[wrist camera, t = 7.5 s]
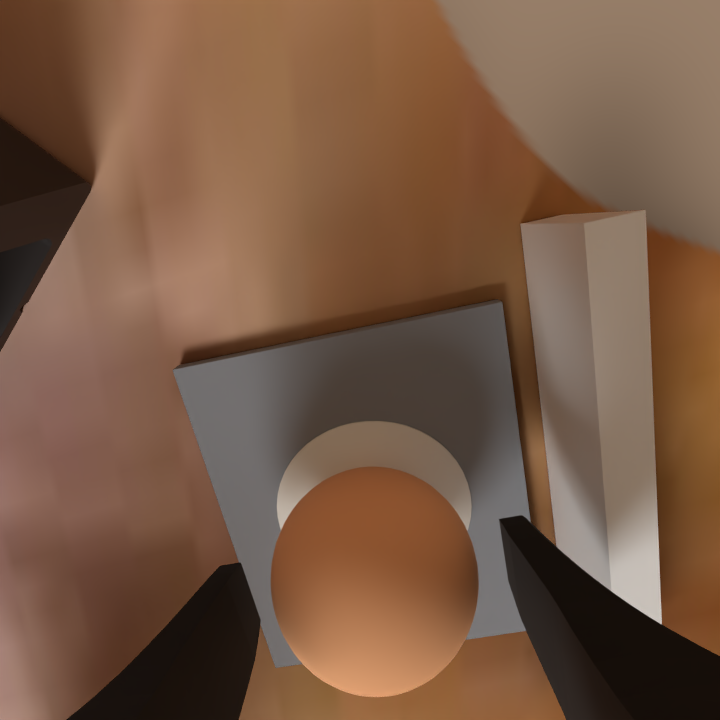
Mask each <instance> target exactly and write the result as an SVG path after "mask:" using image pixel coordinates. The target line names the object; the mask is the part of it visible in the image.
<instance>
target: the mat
mask: <svg viewBox="0 0 720 720" xmlns="http://www.w3.org/2000/svg"><path fill="white" fill-rule="evenodd" d="M173 372H174V375H175V378H176V381H177V384H178V387H179V390H180V393H181V396H182V399H183V401H184V404H185V407H186V410H187V413H188V416H189V419H190V422H191V425H192V427H193V430H194V433H195V436H196V439H197V442H198V445H199V448H200V451H201V453H202V456H203V459H204V462H205V465H206V468H207V471H208V474H209V477H210V479H211V482H212V485H213V488H214V491H215V494H216V497H217V500H218V503H219V506H220V508H221V511H222V514H223V517H224V520H225V523H226V526H227V529H228V532H229V534H230V537H231V540H232V543H233V546H234V549H235V552H236V555H237V558H238V560H239V563H240V562H241V564H242V567H243V570H244V573H245V576H246V579H247V582H248V584H249V587H250V590H251V593H252V596H253V599H254V602H255V605H256V608H257V611H258V613H259V616H260V619H261V622H260V624H261V627H262V630H263V633H264V636H265V639H266V641H267V644H268V647H269V650H270V653H271V656H272V659H273V662H274V665H275V667H276V668H278V667H285V666H292V665H298V664H302V662H301V661H300V660H299V659H298V658H297V657H296V655H295V654H294V653H293V651H292V650H291V648H290V646H289V645H288V643H287V641H286V640H285V638H284V636H283V634H282V632H281V629H280V627H279V624H278V621H277V618H276V615H275V611H274V607H273V602H272V595H271V564H272V559H273V554H274V550H275V545H276V542H277V539H278V537H279V534H280V532H281V529H282V527H283V525H284V523H285V521H286V519H287V518H288V516H289V514H290V513H291V511H292V510H293V508H294V507H295V506H296V505H297V503H298V502H299V501H300V500H301V499H302V498H303V497H304V496H305V495H306V494H307V493H308V492H309V491H310V490H311V489H313V488H314V487H315V486H316V485H318V484H319V483H321V482H322V481H324V480H326V479H327V478H329V477H331V476H333V475H336V474H338V473H341V472H344V471H346V470H350V469H354V468H360V467H386V468H392V469H396V470H400V471H403V472H406V473H409V474H411V475H413V476H415V477H417V478H419V479H421V480H423V481H425V482H426V483H428V484H429V485H431V486H432V487H433V488H435V489H436V490H437V491H438V492H439V493H440V494H441V495H442V496H443V497H444V498H446V499H447V501H448V502H449V503H450V504H451V505H452V507H453V508H454V509H455V511H456V512H457V513H458V515H459V517H460V518H461V520H462V521H463V523H464V525H465V527H466V529H467V532H468V534H469V536H470V539H471V541H472V544H473V547H474V551H475V555H476V560H477V565H478V577H479V590H478V600H477V607H476V611H475V616H474V619H473V622H472V625H471V628H470V630H469V633H468V635H467V637H466V639H465V640H467V639H474V638H480V637H487V636H494V635H501V634H507V633H514V632H521V631H526V629H525V627H524V625H523V622H522V620H521V617H520V615H519V612H518V609H517V606H516V603H515V600H514V597H513V594H512V591H511V588H510V585H509V582H508V576H507V569H506V563H505V556H504V549H503V543H502V536H501V529H500V523H499V519H502V518H508V517H513V516H519V515H523V516H524V517H525V518H527V519H528V520H529V521H530V513H529V505H528V498H527V490H526V482H525V474H524V467H523V459H522V451H521V443H520V435H519V428H518V420H517V412H516V404H515V397H514V389H513V381H512V373H511V366H510V358H509V350H508V342H507V335H506V327H505V319H504V311H503V304H502V302H501V301H500V300H498V299H497V300H492V301H487V302H482V303H477V304H472V305H468V306H463V307H458V308H453V309H448V310H443V311H438V312H434V313H429V314H424V315H419V316H414V317H409V318H405V319H400V320H395V321H390V322H385V323H380V324H376V325H371V326H366V327H361V328H356V329H351V330H346V331H342V332H337V333H332V334H327V335H322V336H317V337H313V338H308V339H303V340H298V341H293V342H288V343H284V344H279V345H274V346H269V347H264V348H259V349H254V350H250V351H245V352H240V353H235V354H230V355H225V356H221V357H216V358H211V359H206V360H201V361H196V362H192V363H187V364H182V365H179V366H177V367H176V368H174V369H173ZM530 522H531V521H530Z"/></svg>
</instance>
